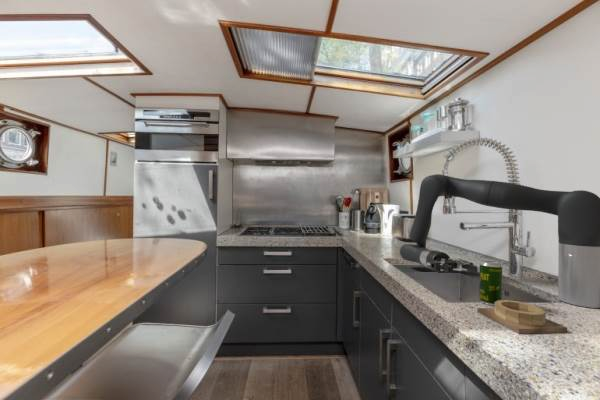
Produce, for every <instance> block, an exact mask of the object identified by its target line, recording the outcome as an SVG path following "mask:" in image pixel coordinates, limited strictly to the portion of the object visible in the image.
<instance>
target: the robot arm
mask: <svg viewBox="0 0 600 400" xmlns="http://www.w3.org/2000/svg"><path fill="white" fill-rule="evenodd" d="M439 197H454V198H455V197H456V198H461V199H465V200H467V201H471V202H473V203H475V204H478V205H481V206H487V207H491V208H498V209H502V210H503V209H504V210H514V211H515V210H516V211H531V212H540V213H545V214H550V215H555V216H557V238H558V242H557V243H558V249H557V250H558V252H557V253H558V256H557V257H558V266H557V267H558V272H557V273H558V277H557V280H558V281H557V282H558V284H557V286H558V287H557V293H558V296H557V299H558V300H559V301H562V302H564V303H566V304H570V305H573V306H574V305H575V306H578V307H579V306H580V307H583V308H585V307H586V308H589V309H590V308H593V309H595V308H596V309H598V308H599V309H600V197H599V196H598V195H597V194H596V193H594V192H592V191H589V190H588V191H587V190H583V189H582V190H572V191H564V190H563V191H562V190H548V189H540V188H535V187H532V186H531V187H530V186H528V185H522V184H517V183H513V182H512V183H511V182H506V181H497V180H486V179H466V178H465V179H464V178H459V177H454V176H449V175H444V174H439V173H438V174H432V175H428V176H426V177H424V178H423V179H422V180H421V183H420V187H419V195H418V201H417V207H416V212H415V216H414V219H413V221H412V222H413V223H412V226H411V228H410V231H409V235H408V237H409V239H410V240H411V242H414V243H416V244H411V243H410V244H409V243H405V244H403V245H401V247H400V249H399V255H400V257H401V258H402V259H403V260H405V261H407V262H412V263H417V264H419V265H421V266H425V268H427V269H430V270H432V271H435V272H437V273H445V272H447V273H449V274H453V273H454V271H458V272H461V271H466V272H467V271H468V272H470V273H473V274H477V273H478V267H477V265H474V262H470V261H467V260H463V259H454V258H451V257H450V255H449V254H447V253H446V252H444V251H440V250H437V249H436V250H435V249H432V248H431V249H430V248H427V239H428V236H429V233H430V229H431V226H432V216H433V210H434V207H435V205H436V202H437V201H438V199H439Z"/></svg>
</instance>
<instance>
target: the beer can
mask: <svg viewBox="0 0 600 400" xmlns="http://www.w3.org/2000/svg"><path fill="white" fill-rule="evenodd" d="M478 294H479V296H478V297H479V298H478V299H479V301H480V303H481V304H483V303H488V304H486V305H487V306H489V305H490V306H489V307H495V302H496V301H498V300H503V265H502V262H500V261H497V260H492V259H490V260H489V259H480V263H479V293H478Z"/></svg>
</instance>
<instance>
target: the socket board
mask: <svg viewBox="0 0 600 400" xmlns="http://www.w3.org/2000/svg"><path fill="white" fill-rule="evenodd" d="M477 313H478V314H480V315H483V316H484V317H486V318H488V319H490V320H492V321H494V322H496V323H498V324H500V325H502V326H504V327H506V328H507V329H509V330H511V331H513V332H515V333H517V334H540V333H541V334H543V333H544V334H545V333H547V334H548V333H551V334H552V333H567V332H568V326H565V325H563V324H560V323H558V322H555V321H552V320H550V319H547V318H546V315H547V314H546V313H547V312H546V311H545V310H544V309H543V308H542V307H539V306H536V305H533V304H531V303H527V302H526V303H525V302H522V301H517V300H511V299H510V300H509V299H502V300H498V301H496V302H495V306H494V307H479V308H477Z"/></svg>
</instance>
